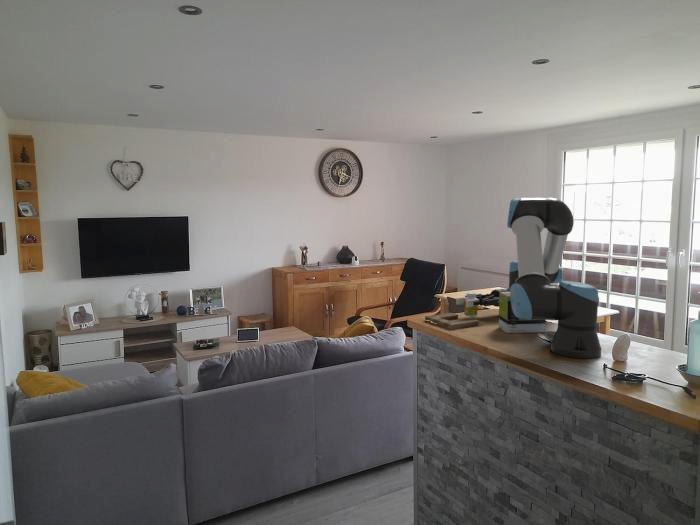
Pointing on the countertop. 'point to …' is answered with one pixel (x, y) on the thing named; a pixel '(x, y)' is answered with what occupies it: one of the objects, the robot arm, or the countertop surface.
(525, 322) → the tea box
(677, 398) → the countertop surface
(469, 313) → the supplement bottle
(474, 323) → the u-shaped block
